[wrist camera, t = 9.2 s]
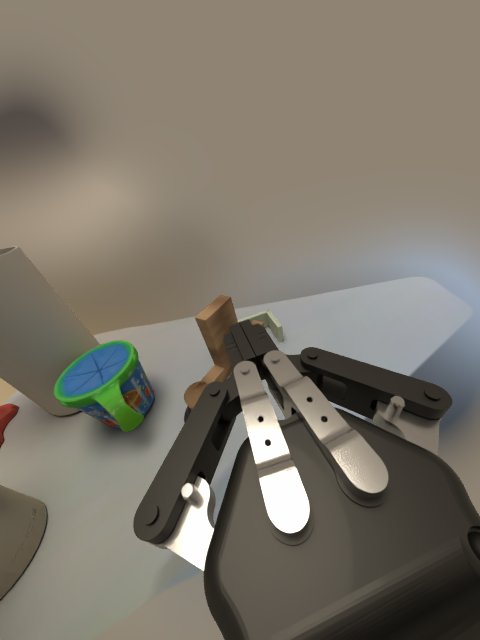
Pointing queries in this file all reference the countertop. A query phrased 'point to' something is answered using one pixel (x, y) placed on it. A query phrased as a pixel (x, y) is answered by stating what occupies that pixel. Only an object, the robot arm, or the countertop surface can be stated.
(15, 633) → the countertop surface
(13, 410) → the stacking bear
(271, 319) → the sage green c-shaped clamp
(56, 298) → the cylinder vase
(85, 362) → the snack cup
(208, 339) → the lever
